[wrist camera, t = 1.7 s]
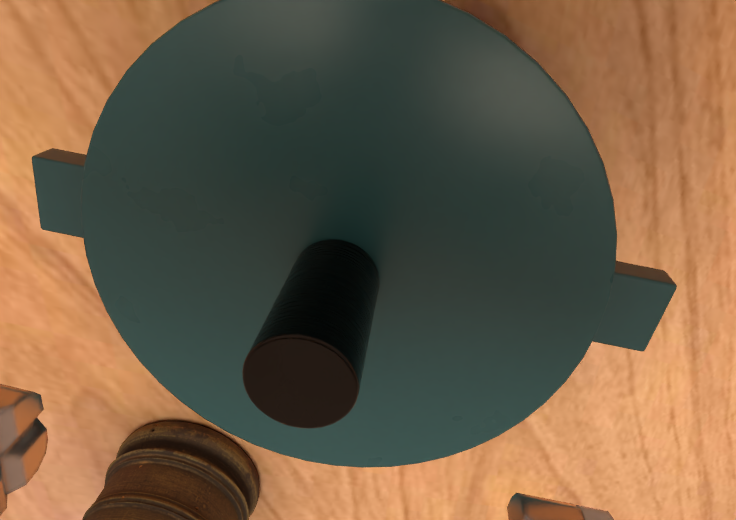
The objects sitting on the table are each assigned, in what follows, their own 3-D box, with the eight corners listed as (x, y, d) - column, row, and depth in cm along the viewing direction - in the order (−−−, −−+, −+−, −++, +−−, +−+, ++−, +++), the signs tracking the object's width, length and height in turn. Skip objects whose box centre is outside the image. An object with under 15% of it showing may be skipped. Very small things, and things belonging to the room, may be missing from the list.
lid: (83, -75, 13) (-154, -117, 7) (701, 42, 12) (889, 81, 7) (117, 394, 19) (4, 537, 14) (514, 477, 19) (543, 655, 14)
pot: (164, -46, 21) (-22, -69, 12) (649, 46, 20) (801, 87, 12) (167, 259, 27) (46, 382, 19) (538, 335, 27) (585, 495, 18)
